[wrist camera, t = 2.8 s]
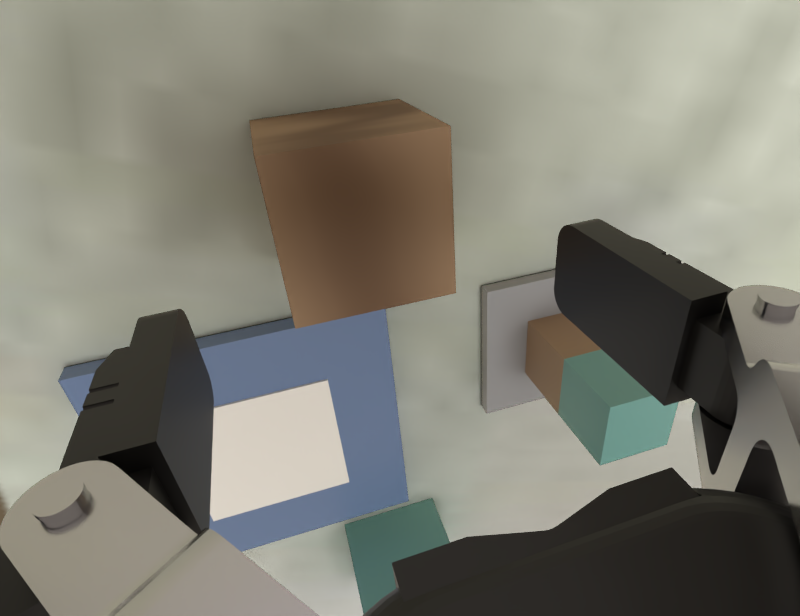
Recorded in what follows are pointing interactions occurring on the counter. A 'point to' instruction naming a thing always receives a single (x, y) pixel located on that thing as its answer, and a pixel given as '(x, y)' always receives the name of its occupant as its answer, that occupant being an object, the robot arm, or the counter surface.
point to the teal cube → (391, 545)
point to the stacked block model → (563, 372)
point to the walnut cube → (358, 207)
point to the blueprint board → (295, 426)
